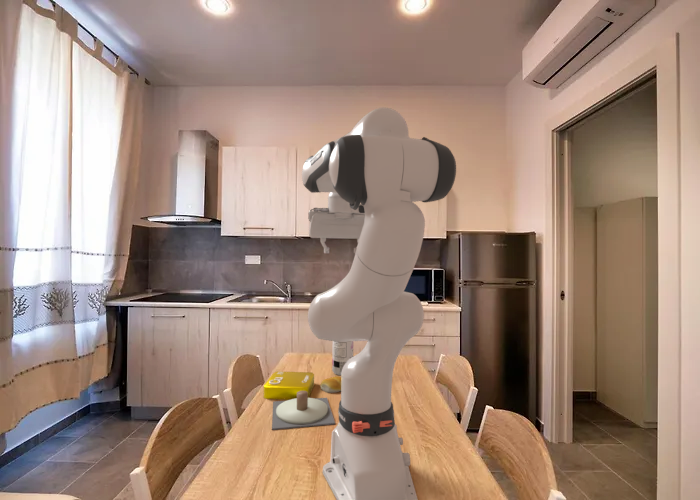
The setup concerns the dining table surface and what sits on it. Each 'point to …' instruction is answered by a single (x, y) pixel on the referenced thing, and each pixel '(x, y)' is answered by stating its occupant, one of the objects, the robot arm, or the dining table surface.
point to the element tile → (288, 385)
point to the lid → (301, 409)
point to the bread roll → (331, 384)
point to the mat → (283, 425)
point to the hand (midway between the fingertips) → (341, 253)
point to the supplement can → (341, 355)
